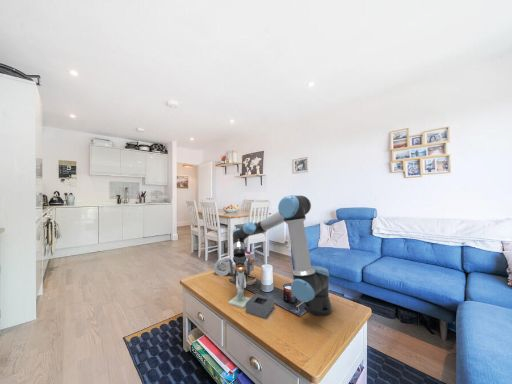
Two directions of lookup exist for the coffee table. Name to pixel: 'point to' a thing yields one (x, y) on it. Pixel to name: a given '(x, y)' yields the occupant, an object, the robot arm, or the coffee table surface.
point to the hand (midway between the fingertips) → (241, 287)
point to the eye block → (260, 306)
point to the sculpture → (223, 266)
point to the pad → (239, 301)
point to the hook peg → (240, 280)
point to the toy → (251, 257)
